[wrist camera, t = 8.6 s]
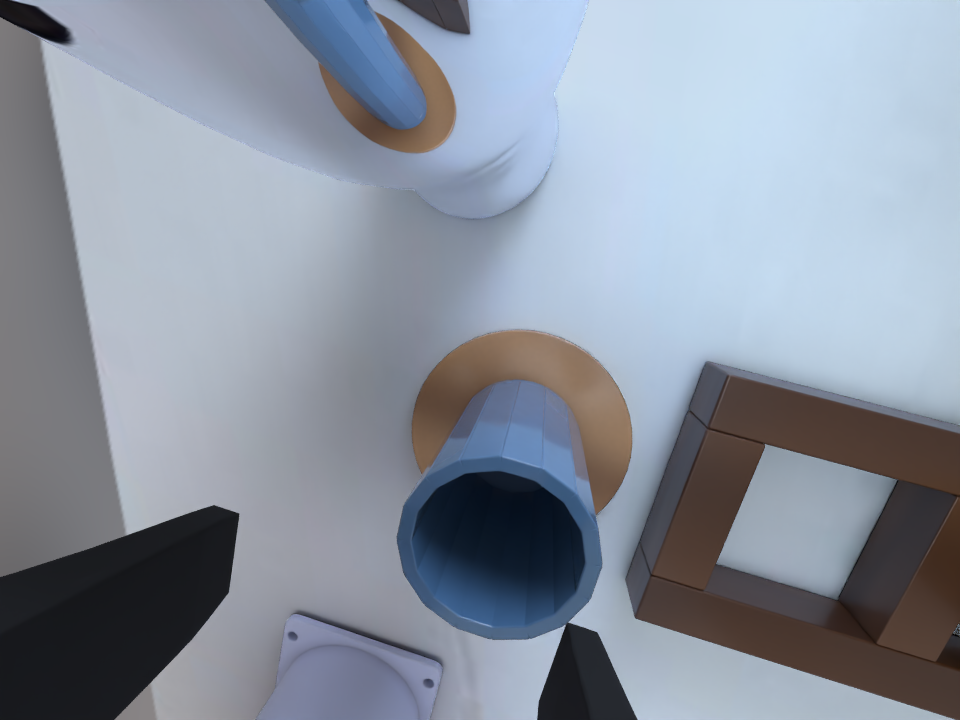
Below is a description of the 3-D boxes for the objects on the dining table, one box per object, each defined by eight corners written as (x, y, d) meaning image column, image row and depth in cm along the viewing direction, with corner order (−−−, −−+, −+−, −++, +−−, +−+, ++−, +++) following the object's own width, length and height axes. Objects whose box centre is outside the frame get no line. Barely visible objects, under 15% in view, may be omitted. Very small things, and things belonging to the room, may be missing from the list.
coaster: (593, 559, 19) (594, 565, 19) (396, 499, 20) (393, 504, 20) (661, 362, 17) (664, 364, 17) (438, 304, 18) (435, 305, 18)
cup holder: (1081, 720, 17) (1156, 784, 15) (624, 579, 19) (634, 619, 17) (1242, 497, 15) (1357, 535, 13) (705, 360, 17) (728, 373, 15)
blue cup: (560, 509, 18) (567, 666, 11) (446, 475, 19) (381, 604, 12) (595, 397, 17) (629, 492, 10) (472, 364, 18) (419, 432, 11)
